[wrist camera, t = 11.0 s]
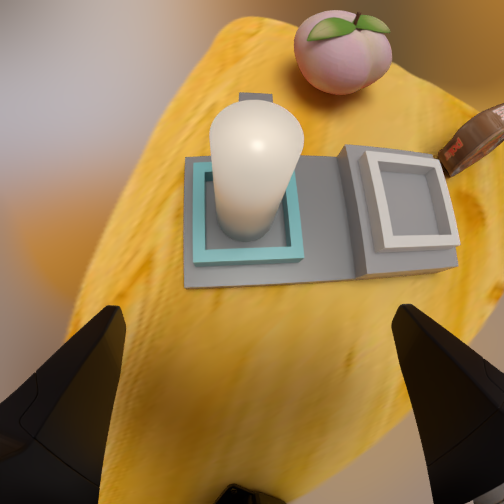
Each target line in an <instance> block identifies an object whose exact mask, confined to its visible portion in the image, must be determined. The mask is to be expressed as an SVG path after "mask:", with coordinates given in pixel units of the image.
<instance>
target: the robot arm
mask: <svg viewBox="0 0 504 504" xmlns="http://www.w3.org/2000/svg"><path fill="white" fill-rule="evenodd" d="M391 327H392V332H393V337H394V341H395V345H396V350H397V355H398V359H399V363H400V367H401V371H402V374H403V377H404V381H405V384H406V387H407V390H408V394H409V397H410V401H411V404H412V408H413V412H414V415H415V419H416V423H417V426H418V431H419V434H420V439H421V443H422V447H423V451H424V456H425V460H426V465H427V470H428V475H429V480H430V486H431V491H432V497H433V503H434V504H465V503H467V502H470V501H472V500H473V503H474V504H504V373H502V372H501V371H499V370H498V369H497V368H496V367H494V366H493V365H491V364H490V363H489V362H488V361H487V360H485V359H483V357H482V356H480V355H479V354H478V353H476V352H475V351H474V350H472V349H471V348H470V347H469V346H467V345H466V344H465V343H463V342H462V341H461V340H459V339H458V338H457V337H456V336H454V335H453V334H452V333H450V332H449V331H448V330H446V329H445V328H444V327H442V326H441V325H439V324H438V323H437V322H435V321H434V320H433V319H431V318H430V317H429V316H427V315H426V314H424V313H423V312H422V311H420V310H419V309H418V308H416V307H415V306H413V305H412V304H402V305H400V306H399V307H398V309H397V312H396V314H395V316H394V318H393V320H392V325H391ZM125 335H126V324H125V321H124V317H123V314H122V310H121V308H120V307H119V306H115V305H107V306H106V307H104V308H103V309H102V310H101V311H100V312H99V313H98V314H97V315H95V316H94V317H93V318H92V319H91V320H90V321H89V322H88V323H87V324H86V325H84V326H83V327H82V328H81V329H80V330H79V331H78V332H77V333H76V334H75V335H73V336H72V337H71V338H70V339H69V340H68V341H67V342H66V343H65V344H64V345H63V346H62V347H61V348H60V349H58V350H57V351H56V352H55V353H54V354H53V355H52V356H51V357H50V358H49V359H48V360H47V361H46V362H45V363H44V364H43V365H42V366H41V367H40V368H39V369H38V370H37V371H36V373H33V375H31V376H30V377H29V378H28V379H27V380H26V381H25V382H24V383H23V384H22V385H21V386H20V387H19V388H18V389H17V390H16V391H14V392H13V393H12V394H11V395H10V396H9V397H8V398H6V399H5V400H4V401H3V402H1V403H0V504H98V499H99V490H100V488H99V487H100V481H101V474H102V467H103V460H104V454H105V448H106V442H107V436H108V431H109V425H110V420H111V415H112V410H113V405H114V400H115V396H116V391H117V387H118V382H119V378H120V373H121V366H122V357H123V349H124V342H125ZM231 489H236V491H231ZM213 504H285V502H284V501H282V500H279V499H276V498H273V497H271V496H268V495H265V494H263V493H260V492H253V491H250V490H248V489H246V488H243V487H241V486H239V485H236V484H231V485H229V486H227V488H226V489H225V490H224V491H223V493H222V494H221V495H220V496H219V497H218V499H217V500H216V501H215V502H214V503H213Z"/></svg>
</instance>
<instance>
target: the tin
mask: <svg viewBox="0 0 504 504" xmlns="http://www.w3.org/2000/svg"><path fill="white" fill-rule="evenodd" d="M503 141H504V103H503V104H500V105H497V106H495V107H492V108H490V109H487V110H485V111H483V112H481V113H479V114H477V115H476V116H474V117H473V118H471V119H470V120H469V121H468V122H466V123H465V124H464V125H463V126H462V127H461V128H460V129H459V130H458V131H457V132H456V133H455V135H454V137H453V138H452V139H451V140H450V141H449V142H448V144H447V145H446V146H445V147H444V148H443V149H441V150H440V151H439V152H438V158H439V160H440V161H441V163H442V164H443V165H444V167H445V168H446V170H447V171H448V173H449V176H450V177H452V176H454V175H456V174H458V173H460V172H461V171H463V170H464V169H466V168H467V167H469V166H470V165H472V164H474V163H475V162H477V161H478V160H480V159H481V158H483V157H484V156H486V155H487V154H488V153H490V152H491V151H492V150H494V149H495V148H496V147H497V146H498V145H500V144H501V143H502V142H503Z"/></svg>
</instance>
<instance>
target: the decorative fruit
mask: <svg viewBox="0 0 504 504" xmlns="http://www.w3.org/2000/svg"><path fill="white" fill-rule="evenodd" d="M383 33H390V30H389V28H388V27H387V26H386V24H385V23H383V22H382V21H381V20H379V19H377V18H375V17H372V16H368V15H361V13H360V12H357V14H353V13H350V12H346V11H339V10H332V11H326V12H321V13H318V14H316V15H313V16H311V17H309V18H308V19H306V20H305V21H304V22H303V23H302V24H301V26H300V27H299V29H298V30H297V32H296V35H295V39H294V52H295V57H296V60H297V63H298V66H299V68H300V71H301V73H302V74H303V76H304V77H305V79H306V80H307V81H308V82H309V83H310V84H311V85H313V86H314V87H315V88H317V89H319V90H321V91H324V92H327V93H330V94H335V95H345V94H350V93H354V92H356V91H358V90H359V89H361V88H364V87H367V86H369V85H371V84H372V83H374V82H375V81H377V80H378V79H380V78H381V77H382V76H383V75H384V74H385V73H386V72H387V71H388V69H389V67H390V65H391V62H392V51H391V47H390V44H389V42H388V40H387V38H386V37H385V35H384V34H383Z"/></svg>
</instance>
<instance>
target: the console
mask: <svg viewBox="0 0 504 504" xmlns="http://www.w3.org/2000/svg"><path fill="white" fill-rule="evenodd" d="M459 245H460V240H459V234H458V229H457V225H456V220H455V216H454V211H453V207H452V203H451V199H450V195H449V191H448V188H447V184H446V181H445V177H444V174H443V170H442V167H441V164H440V161H439V160H438V159H433V156H432V155H431V154H425V153H418V152H411V151H404V150H396V149H388V148H379V147H369V146H358V145H346V144H345V145H344V147H343V149H342V150H341V152H340V153H339V155H338V156H337V157H327V156H301V155H300V157H299V159H298V162H297V164H296V167H295V169H294V171H293V174H292V176H291V179H290V181H289V184H288V186H287V188H286V191H285V193H284V196H283V198H282V200H281V203H280V205H279V208H278V210H277V213H276V215H275V217H274V220H273V222H272V225H271V227H270V229H269V230H268V232H267V233H266V234H265V235H264V236H263V237H261V238H259V239H257V240H255V241H251V242H240V241H236V240H233V239H231V238H230V237H228V236H227V235H226V234H225V233H224V232H223V231H222V230H221V228H220V226H219V224H218V220H217V212H216V202H215V192H214V182H213V171H212V160H211V156H200V157H185V182H184V288H186V289H205V288H231V287H253V286H272V285H290V284H306V283H322V282H336V281H350V280H363V279H375V278H387V277H398V276H409V275H420V274H430V273H438V272H441V271H445V270H448V269H451V268H454V267H457V266H458V261H457V254H456V249H455V247H456V246H459Z"/></svg>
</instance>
